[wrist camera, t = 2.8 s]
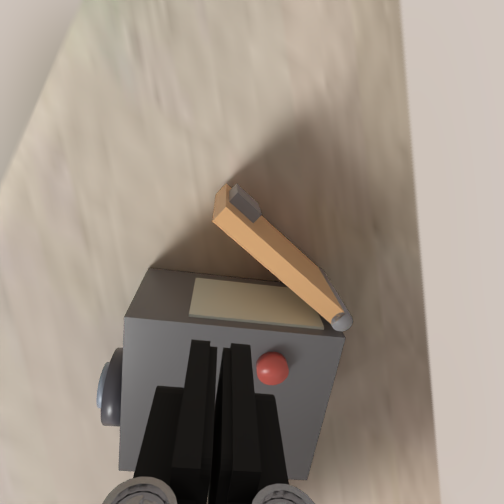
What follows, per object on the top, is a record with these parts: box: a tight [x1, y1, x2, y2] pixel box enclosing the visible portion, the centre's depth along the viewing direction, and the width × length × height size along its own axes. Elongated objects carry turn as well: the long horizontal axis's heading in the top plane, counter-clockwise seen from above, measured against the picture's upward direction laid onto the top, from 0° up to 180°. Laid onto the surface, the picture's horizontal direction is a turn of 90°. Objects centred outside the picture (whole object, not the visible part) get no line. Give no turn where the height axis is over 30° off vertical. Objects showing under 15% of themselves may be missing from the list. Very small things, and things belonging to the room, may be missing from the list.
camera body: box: [97, 268, 345, 480], centre depth 23 cm, size 10×13×7 cm
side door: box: [212, 183, 353, 331], centre depth 20 cm, size 2×9×6 cm, turn 47°
